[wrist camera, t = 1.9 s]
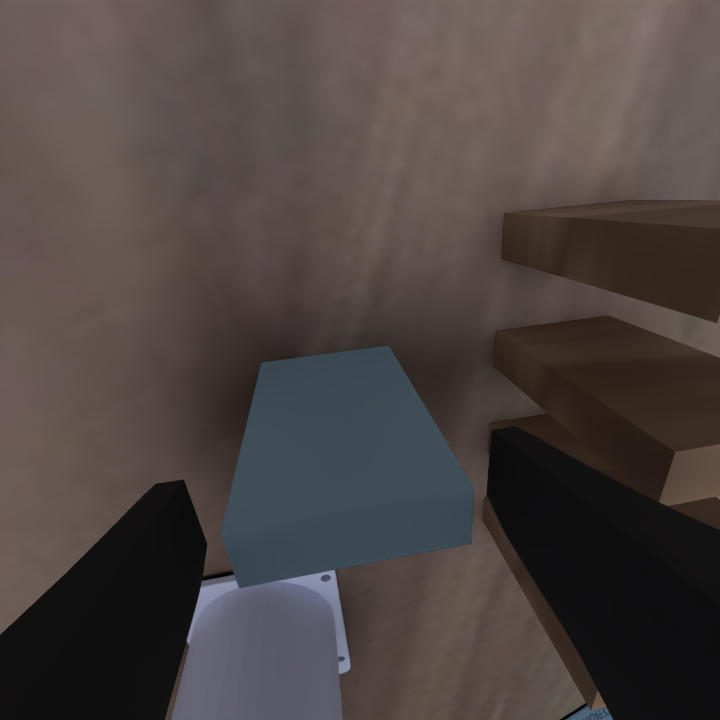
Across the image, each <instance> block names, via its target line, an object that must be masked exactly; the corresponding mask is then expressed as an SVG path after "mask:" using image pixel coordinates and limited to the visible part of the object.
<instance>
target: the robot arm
mask: <svg viewBox="0 0 720 720" xmlns="http://www.w3.org/2000/svg"><path fill="white" fill-rule="evenodd" d="M487 497H488V499H489V501H490V503H491V505H492V508H493V510H494V512H495V514H496V516H497V518H498V520H499V523H500V525H501V527H502V529H503V531H504V533H505V535H506V536H507V538H508V540H509V541H510V543H511V545H512V546H513V548H514V550H515V551H516V553H517V554H518V556H519V558H520V559H521V561H522V563H523V564H524V566H525V567H526V569H527V571H528V572H529V574H530V575H531V577H532V579H533V580H534V582H535V583H536V585H537V587H538V588H539V590H540V591H541V593H542V595H543V596H544V598H545V599H546V601H547V603H548V604H549V606H550V607H551V609H552V611H553V612H554V614H555V615H556V617H557V619H558V620H559V622H560V623H561V625H562V627H563V628H564V630H565V631H566V633H567V635H568V636H569V638H570V640H571V642H572V643H573V645H574V647H575V648H576V650H577V652H578V654H579V655H580V657H581V659H582V661H583V663H584V665H585V667H586V669H587V670H588V672H589V674H590V676H591V678H592V680H593V682H594V684H595V686H596V688H597V690H598V692H599V694H600V695H601V697H602V699H603V701H604V703H605V705H606V707H607V709H608V711H609V713H610V715H611V717H612V719H613V720H720V530H719V529H717V528H714V527H712V526H710V525H707V524H705V523H703V522H700V521H698V520H696V519H694V518H692V517H689V516H687V515H685V514H683V513H681V512H679V511H676V510H674V509H672V508H670V507H668V506H666V505H664V504H662V503H660V502H658V501H656V500H654V499H652V498H650V497H648V496H646V495H644V494H642V493H640V492H637V491H635V490H634V489H632V488H630V487H628V486H626V485H624V484H622V483H620V482H618V481H616V480H614V479H612V478H610V477H609V476H607V475H605V474H603V473H601V472H599V471H597V470H595V469H594V468H592V467H590V466H588V465H586V464H584V463H583V462H581V461H579V460H577V459H575V458H573V457H572V456H570V455H568V454H566V453H565V452H563V451H561V450H559V449H557V448H556V447H554V446H552V445H550V444H548V443H547V442H545V441H543V440H541V439H539V438H537V437H536V436H534V435H532V434H530V433H528V432H526V431H524V430H522V429H520V428H518V427H516V426H513V427H507V428H501V429H495V430H491V442H490V456H489V469H488V482H487ZM206 550H207V542H206V539H205V537H204V534H203V531H202V528H201V526H200V523H199V520H198V517H197V515H196V512H195V509H194V506H193V503H192V501H191V498H190V495H189V492H188V490H187V487H186V484H185V481H184V480H178V481H171V482H165V483H159V484H155V485H154V486H153V487H152V488H151V489H150V490H149V491H148V492H147V493H145V494H144V495H143V496H142V497H141V498H140V499H139V500H138V501H137V502H136V503H135V504H134V505H133V506H132V507H131V508H130V509H129V510H128V511H127V512H126V513H125V515H124V516H123V517H122V518H121V519H120V520H119V521H118V522H117V523H116V524H115V525H114V526H113V527H112V528H111V529H110V530H109V531H108V532H107V533H106V534H105V535H104V536H103V537H102V538H101V539H100V540H99V541H98V542H97V543H96V544H95V545H94V546H93V547H92V548H91V549H90V550H89V551H88V552H87V553H86V554H85V555H84V556H83V557H82V558H81V559H80V560H79V561H78V562H77V563H76V564H75V565H74V566H73V567H72V568H71V569H70V570H69V571H68V572H67V573H66V574H65V575H63V576H62V577H61V578H60V579H59V580H58V581H57V582H56V583H55V584H54V585H53V586H52V587H51V588H50V589H49V590H48V591H46V592H45V593H44V594H43V595H42V596H41V597H40V598H39V599H38V600H37V601H36V602H35V603H34V604H33V605H32V606H30V607H29V608H28V609H27V610H26V611H25V612H24V613H23V614H22V615H21V616H20V617H19V618H18V619H17V620H16V621H15V622H13V623H12V624H11V625H10V626H9V627H8V628H7V629H6V630H5V631H4V632H3V633H2V634H0V720H165V716H166V713H167V709H168V706H169V702H170V698H171V695H172V691H173V688H174V684H175V681H176V677H177V673H178V670H179V666H180V663H181V659H182V656H183V652H184V649H185V645H186V641H187V643H188V645H189V649H188V653H187V657H186V661H185V665H184V669H183V673H182V677H181V681H180V685H179V689H178V693H177V697H176V701H175V705H174V709H173V713H172V717H171V720H343V716H342V704H341V691H340V679H339V674H342V673H345V672H347V671H348V670H349V669H350V667H351V664H350V657H349V651H348V645H347V639H346V633H345V627H344V621H343V614H342V608H341V602H340V596H339V590H338V584H337V578H336V572H335V570H332V571H327V572H322V573H317V574H312V575H307V576H301V577H296V578H291V579H286V580H281V581H276V582H270V583H265V584H260V585H255V586H250V587H245V588H239V587H238V584H237V581H236V578H235V575H231V576H225V577H220V578H215V579H210V580H204V581H202V576H203V571H204V564H205V557H206Z"/></svg>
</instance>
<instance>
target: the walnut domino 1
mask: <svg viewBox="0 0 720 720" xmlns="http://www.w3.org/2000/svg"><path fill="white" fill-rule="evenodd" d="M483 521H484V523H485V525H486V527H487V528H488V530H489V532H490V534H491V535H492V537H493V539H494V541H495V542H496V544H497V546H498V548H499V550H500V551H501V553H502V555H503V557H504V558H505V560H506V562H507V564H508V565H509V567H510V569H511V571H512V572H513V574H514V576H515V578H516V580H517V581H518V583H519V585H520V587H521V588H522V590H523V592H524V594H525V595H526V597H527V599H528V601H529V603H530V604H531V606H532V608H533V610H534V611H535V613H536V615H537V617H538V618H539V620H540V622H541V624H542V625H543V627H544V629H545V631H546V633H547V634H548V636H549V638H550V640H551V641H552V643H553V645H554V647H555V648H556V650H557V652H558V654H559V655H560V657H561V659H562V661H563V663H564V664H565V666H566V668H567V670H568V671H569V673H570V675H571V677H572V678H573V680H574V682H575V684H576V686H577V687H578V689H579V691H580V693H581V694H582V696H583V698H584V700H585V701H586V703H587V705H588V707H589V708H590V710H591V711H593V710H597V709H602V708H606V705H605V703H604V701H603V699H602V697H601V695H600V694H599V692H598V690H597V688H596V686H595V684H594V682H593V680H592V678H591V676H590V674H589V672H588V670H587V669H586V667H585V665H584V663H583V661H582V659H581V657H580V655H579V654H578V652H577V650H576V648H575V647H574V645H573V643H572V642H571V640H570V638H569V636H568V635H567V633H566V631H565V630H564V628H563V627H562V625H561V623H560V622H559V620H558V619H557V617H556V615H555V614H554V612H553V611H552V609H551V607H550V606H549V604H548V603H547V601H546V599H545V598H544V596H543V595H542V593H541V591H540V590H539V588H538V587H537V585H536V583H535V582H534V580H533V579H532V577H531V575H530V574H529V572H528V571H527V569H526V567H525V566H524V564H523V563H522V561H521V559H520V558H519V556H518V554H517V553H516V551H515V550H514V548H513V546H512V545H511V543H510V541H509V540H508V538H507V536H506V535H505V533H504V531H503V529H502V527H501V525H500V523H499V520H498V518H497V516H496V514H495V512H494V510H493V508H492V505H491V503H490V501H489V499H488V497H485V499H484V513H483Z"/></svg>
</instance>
